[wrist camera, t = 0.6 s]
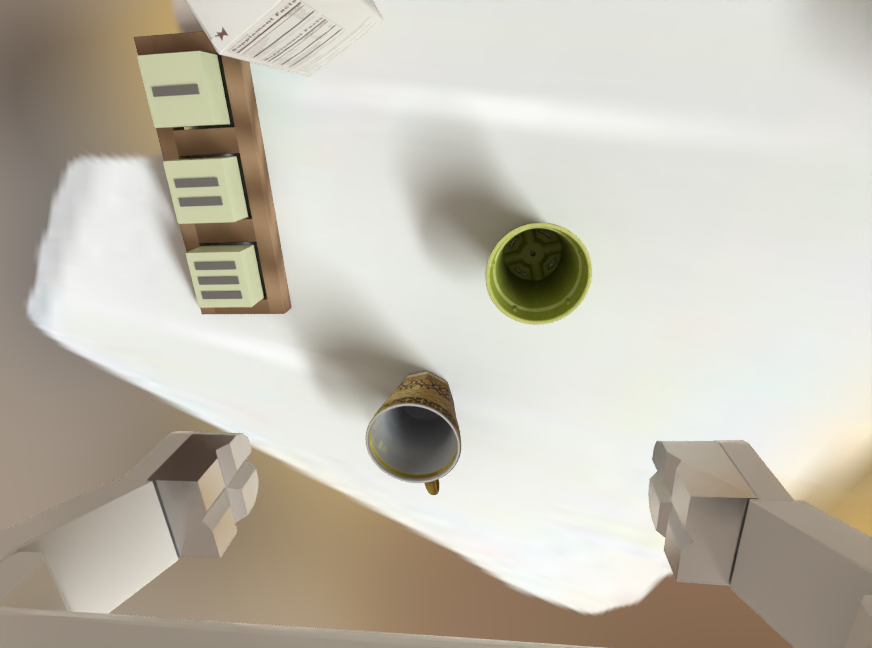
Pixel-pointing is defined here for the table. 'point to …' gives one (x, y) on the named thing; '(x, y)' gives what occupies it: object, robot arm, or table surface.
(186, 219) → the tile two
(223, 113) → the tile one
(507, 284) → the plant pot
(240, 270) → the tile three
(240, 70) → the frame
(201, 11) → the supplement box
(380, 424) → the ceramic cup
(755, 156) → the table surface
